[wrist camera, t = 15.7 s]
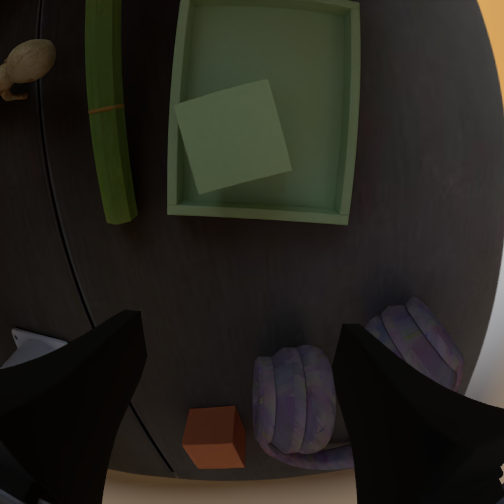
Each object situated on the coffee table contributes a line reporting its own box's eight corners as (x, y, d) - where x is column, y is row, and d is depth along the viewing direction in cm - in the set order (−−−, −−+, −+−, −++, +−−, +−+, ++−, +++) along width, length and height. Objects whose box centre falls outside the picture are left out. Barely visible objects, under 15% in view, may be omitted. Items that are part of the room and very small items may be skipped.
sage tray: (339, 217, 19) (348, 225, 17) (176, 207, 19) (167, 214, 17) (350, 14, 14) (359, 2, 13) (188, 3, 14) (181, -10, 12)
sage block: (284, 164, 18) (293, 170, 14) (212, 183, 18) (198, 195, 14) (265, 93, 16) (268, 78, 12) (192, 113, 17) (173, 105, 13)
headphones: (210, 344, 22) (292, 443, 31) (203, 441, 15) (300, 502, 24) (438, 254, 19) (435, 389, 28) (504, 324, 12) (461, 443, 21)
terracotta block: (246, 431, 27) (244, 467, 23) (203, 434, 27) (198, 468, 23) (235, 405, 25) (232, 443, 21) (189, 408, 26) (181, 444, 22)
